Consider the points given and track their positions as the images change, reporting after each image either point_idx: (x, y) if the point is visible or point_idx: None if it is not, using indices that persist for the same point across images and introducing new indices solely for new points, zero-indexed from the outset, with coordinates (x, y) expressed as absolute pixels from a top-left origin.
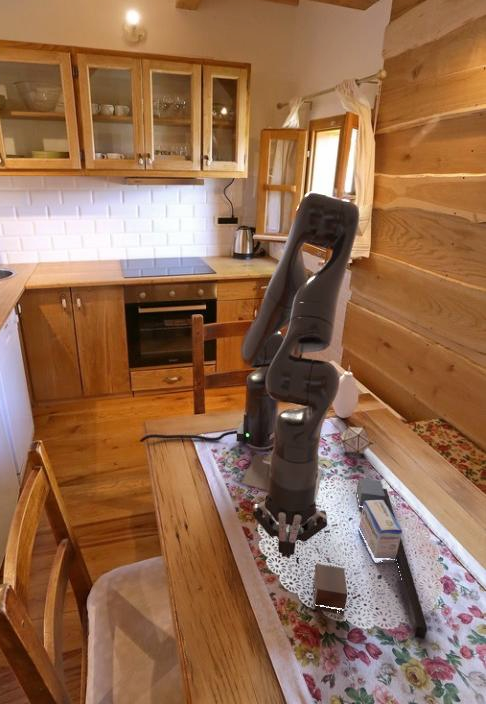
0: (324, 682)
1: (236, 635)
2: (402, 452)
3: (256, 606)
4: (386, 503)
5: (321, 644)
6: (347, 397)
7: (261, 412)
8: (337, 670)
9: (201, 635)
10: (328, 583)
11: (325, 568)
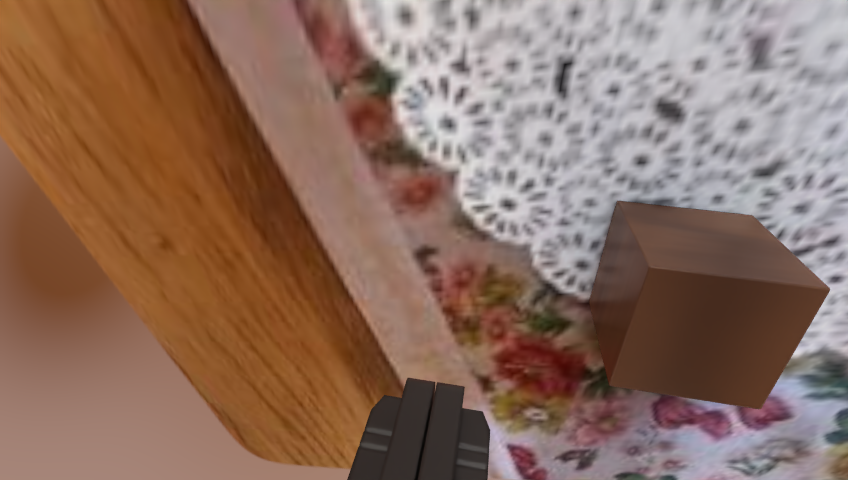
0: (563, 461)
1: (320, 368)
2: None
3: (369, 295)
4: None
5: (581, 393)
6: None
7: None
8: (611, 444)
9: (227, 367)
10: (680, 365)
11: (699, 294)
